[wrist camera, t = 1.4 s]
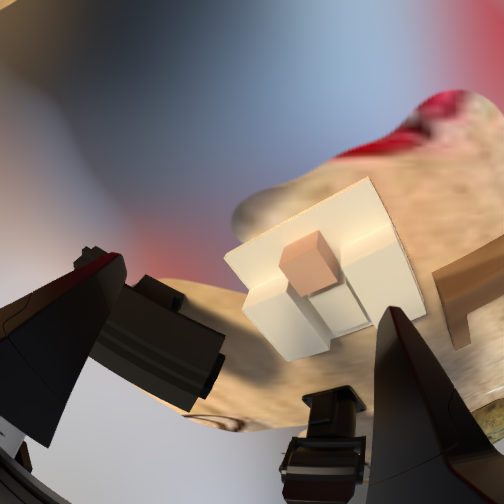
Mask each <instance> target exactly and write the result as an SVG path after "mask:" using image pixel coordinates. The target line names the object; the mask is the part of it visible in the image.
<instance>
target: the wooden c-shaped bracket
mask: <svg viewBox="0 0 504 504" xmlns="http://www.w3.org/2000/svg"><path fill="white" fill-rule="evenodd" d="M432 275H433V278H434V281H435V284H436V287H437V290H438V293H439V296H440V300H441V303H442V307H443V310H444V314H445V317H446V321H447V325H448V329H449V333H450V336H451V339H452V342H453V346H454V349H455V350H457V349H459V348H462V347H464V346H466V345H468V344H470V343H471V339H470V333H469V327H468V321H467V315H466V314H468V313H470V312H472V311H474V310H476V309H478V308H480V307H482V306H484V305H486V304H487V303H489V302H491V301H493V300H495V299H497V298H498V297H500V296H502V295H504V235H502V236H500V237H499V238H497V239H495V240H494V241H492V242H490V243H488V244H486V245H485V246H483V247H481V248H479V249H477V250H476V251H474V252H472V253H470V254H468V255H466V256H464V257H462V258H460V259H458V260H457V261H455V262H453V263H451V264H449V265H447V266H445V267H443V268H441V269H439V270H437V271H435V272H432Z"/></svg>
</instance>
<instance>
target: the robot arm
mask: <svg viewBox="0 0 504 504" xmlns="http://www.w3.org/2000/svg"><path fill="white" fill-rule="evenodd" d="M126 277H127V270H126V266H125V262H124V259H123V256H122V255H121V254H119V253H115V252H111V253H108V254H106V255H104V256H102V257H100V258H98V259H96V260H94V261H92V262H90V263H88V264H86V265H84V266H82V267H80V268H78V269H76V270H74V271H72V272H70V273H68V274H66V275H64V276H62V277H60V278H58V279H56V280H54V281H52V282H51V283H48V284H47V285H44V286H43V287H41V288H39V289H37V290H35V291H33V293H29V294H28V295H26V296H24V297H22V298H20V299H18V300H16V301H15V302H13V303H11V304H8V305H6V306H4V307H2V308H0V504H71V503H70V502H68V501H67V500H65V499H64V498H62V497H61V496H59V495H58V494H57V493H55V492H54V491H52V490H51V489H50V488H48V487H47V486H46V485H44V484H43V483H42V482H40V481H39V480H38V479H37V478H35V477H34V476H33V475H32V474H31V472H32V469H33V468H32V465H31V461H30V457H29V453H28V448H27V444H26V442H25V441H24V438H25V436H26V435H27V436H29V437H30V438H32V439H33V440H35V441H36V442H38V443H40V444H41V445H43V446H44V447H46V448H49V446H50V444H51V441H52V439H53V436H54V433H55V431H56V428H57V426H58V423H59V420H60V418H61V416H62V413H63V411H64V409H65V406H66V403H67V401H68V399H69V396H70V394H71V392H72V390H73V388H74V386H75V383H76V381H77V379H78V377H79V375H80V373H81V370H82V368H83V366H84V364H85V362H86V360H87V358H88V356H89V354H90V352H91V350H92V348H93V346H94V344H95V342H96V340H97V338H98V336H99V334H100V332H101V331H102V329H103V327H104V325H105V323H106V321H107V319H108V317H109V315H110V314H111V312H112V309H113V307H114V305H115V302H116V300H117V298H118V296H119V293H120V291H121V289H122V286H123V284H124V282H125V280H126ZM302 401H303V402H304V403H305V404H306V405H307V406H308V407H310V414H309V420H308V423H309V424H308V430H307V435H306V437H307V438H298V437H292V440H291V442H290V443H289V446H288V449H287V452H286V454H285V457H284V460H283V462H282V464H281V465H280V467H279V472H280V473H281V478H282V483H283V484H284V487H283V491H282V494H283V497H284V500H285V501H286V502H287V504H351V503H352V501H353V498H354V491H355V485H362V482H363V475H364V465H365V449H366V436H362V437H355V429H356V413H359V412H363V411H365V410H366V406H365V405H364V404H363V403H362V401H361V400H360V399H359V397H358V396H357V395H356V394H355V392H354V391H353V390H352V388H351V387H350V386H343V387H339V388H335V389H331V390H327V391H323V392H318V393H314V394H309V395H304V396H303V397H302ZM359 454H360V455H359ZM366 504H504V455H502V454H501V453H500V452H498V451H497V449H496V448H495V447H494V446H493V444H492V443H491V442H490V440H489V439H488V437H487V436H486V434H485V433H484V431H483V430H482V428H481V427H480V425H479V424H478V422H477V421H476V420H475V418H474V417H473V415H472V414H471V412H470V411H469V409H468V408H467V406H466V404H465V403H464V401H463V400H462V398H461V396H460V395H459V393H458V391H457V390H456V388H454V385H453V384H452V382H451V380H450V379H449V377H448V376H447V374H446V372H445V371H444V369H443V368H442V366H441V365H440V363H439V362H438V360H437V359H436V357H435V356H434V354H433V353H432V351H431V350H430V348H429V347H428V345H427V344H426V342H425V341H424V339H423V338H422V337H421V335H420V334H419V332H418V331H417V329H416V328H415V327H414V325H413V324H412V322H411V321H410V320H409V318H408V317H407V315H406V314H405V313H404V311H403V310H402V309H401V308H400V307H397V306H388V307H387V308H386V310H385V312H384V314H383V316H382V318H381V319H380V321H379V324H378V328H377V343H376V356H375V368H374V423H373V442H372V455H371V466H370V476H369V486H368V492H367V499H366Z"/></svg>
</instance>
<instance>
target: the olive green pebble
mask: <svg viewBox="0 0 504 504" xmlns="http://www.w3.org/2000/svg"><path fill="white" fill-rule="evenodd" d="M471 414H472V415H473V417H474V418H475V420H476V421H477V422H478V424H479V425H480V427H481V428H482V430H483V431H484V433H485V434H486V436H487V437H488V439H489V440H490V442H491V443H492V444H494V443H496V442H498V441H500V440H501V439H503V438H504V398H503V399H499V400H496V401H494V402H492V403H491V404H489V405H487V406H485V407H483V408H480V409H478V410H476V411H474V412H472V413H471Z"/></svg>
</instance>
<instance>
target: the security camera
mask: <svg viewBox="0 0 504 504" xmlns="http://www.w3.org/2000/svg"><path fill="white" fill-rule="evenodd" d="M106 254H108V253H107V252H105V251H103V250H102V249H100V248H98V247H97V246H95V247H93V248H92V249H90V248H88V247H87V246H86V247H85V248H84V249H82V256H80V257H79V258H78V259H77V260H76V261H74V263H73V264H74V268H75V269H74V270H76V269H78V268H80V267H82V266H84V265H86V264H88V263H90V262H92V261H94V260H96V259H98V258H100V257H102V256H104V255H106ZM183 298H184V294H183V293H181V292H179V291H177V290H175V289H173V288H171V287H169V286H167V285H165V284H163V283H161V282H159V281H158V280H156V279H154V278H152V277H150V276H148V275H146V274H145V276H144V277H143V278H142V279H141V280H140V281H139V282H138V283H137V284H136V286H135V287H134V288H132V287H131V286H129V285H127V284H125V282H124V284H123V286H122V289H121V291H120V293H119V296H118V298H117V300H116V302H115V305H114V307H113V309H112V312H111V314H110V315H109V317H108V319H107V321H106V323H105V325H104V327H103V329H102V331H101V332H100V334H99V336H98V338H97V340H96V342H95V344H94V346H93V348H92V350H91V352H90V354H89V357H91V358H92V359H94V360H95V361H97V362H98V363H100V364H101V365H103V366H104V367H106V368H108V369H109V370H111V371H112V372H114V373H116V374H117V375H119V376H121V377H122V378H124V379H126V380H127V381H129V382H131V383H132V384H134V385H136V386H138V387H140V388H141V389H143V390H145V391H147V392H149V393H151V394H152V395H154V396H156V397H158V398H160V399H162V400H164V401H166V402H168V403H170V404H172V405H174V406H176V407H178V408H180V409H182V410H184V411H187V412H190V410H191V409H192V407H193V405H194V404H195V402H196V400H197V398H198V397H200V398H202V399H204V400H205V399H206V398H207V396H208V394H209V393H210V391H211V390H212V387H213V385H214V383H215V381H216V379H217V377H218V375H219V373H220V370H221V368H222V365H223V363H224V360H225V355H223V354H221V353H219V351H220V349H221V347H222V344H223V342H224V340H225V336H226V335H224V334H221V333H219V332H217V331H215V330H213V329H211V328H209V327H207V326H205V325H203V324H201V323H199V322H196V321H194V320H192V319H190V318H188V317H187V316H185V315H183V314H181V313H179V312H178V311H179V310H180V308H181V305H182V301H183Z"/></svg>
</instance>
